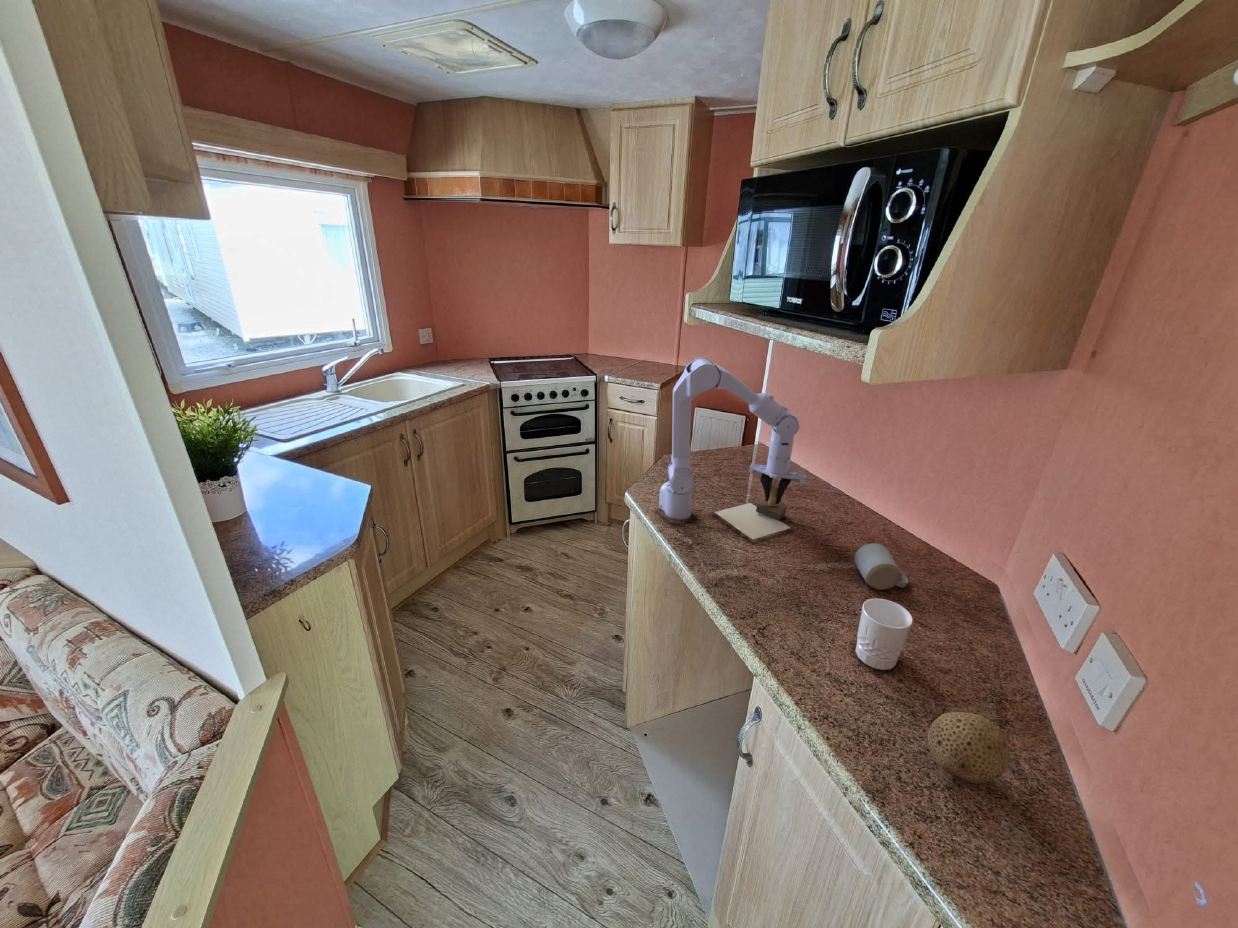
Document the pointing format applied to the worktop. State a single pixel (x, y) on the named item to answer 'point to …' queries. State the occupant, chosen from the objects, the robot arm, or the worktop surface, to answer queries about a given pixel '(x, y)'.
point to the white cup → (882, 633)
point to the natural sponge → (968, 747)
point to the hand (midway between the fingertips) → (772, 501)
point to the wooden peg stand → (771, 504)
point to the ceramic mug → (879, 567)
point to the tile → (751, 521)
